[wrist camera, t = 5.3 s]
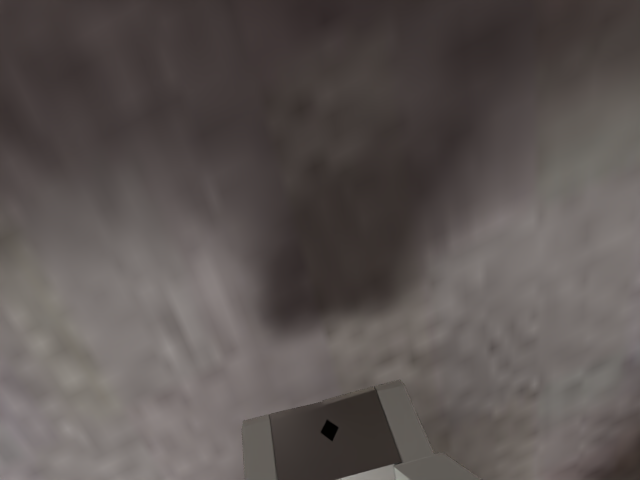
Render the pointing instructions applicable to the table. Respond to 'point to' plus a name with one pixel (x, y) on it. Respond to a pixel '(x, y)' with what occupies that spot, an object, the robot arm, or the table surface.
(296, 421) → the robot arm
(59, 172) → the table surface
